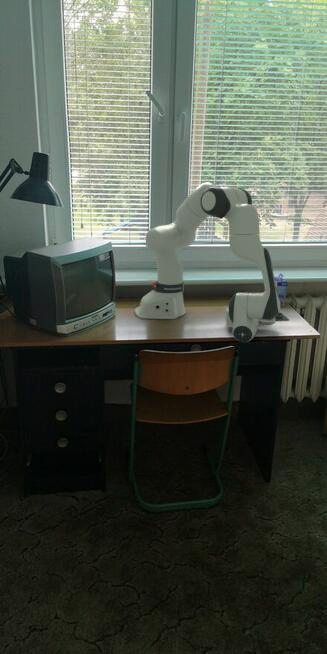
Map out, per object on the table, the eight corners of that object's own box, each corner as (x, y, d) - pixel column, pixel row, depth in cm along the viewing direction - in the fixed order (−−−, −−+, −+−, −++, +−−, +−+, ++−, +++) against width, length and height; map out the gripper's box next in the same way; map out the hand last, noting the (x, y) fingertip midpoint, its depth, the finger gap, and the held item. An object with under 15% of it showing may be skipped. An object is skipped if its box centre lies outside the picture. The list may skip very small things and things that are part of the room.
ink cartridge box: (285, 306, 229) (288, 276, 224) (274, 307, 228) (277, 277, 223) (277, 300, 238) (280, 271, 233) (266, 301, 237) (269, 272, 232)
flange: (269, 321, 209) (269, 319, 209) (261, 314, 218) (261, 312, 217) (288, 320, 211) (289, 318, 211) (280, 313, 219) (280, 312, 219)
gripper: (275, 316, 189) (278, 305, 201) (223, 310, 194) (229, 300, 207) (274, 331, 191) (276, 320, 203) (222, 325, 196) (228, 315, 209)
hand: (252, 310), depth 205 cm, fingers open, 8 cm apart
